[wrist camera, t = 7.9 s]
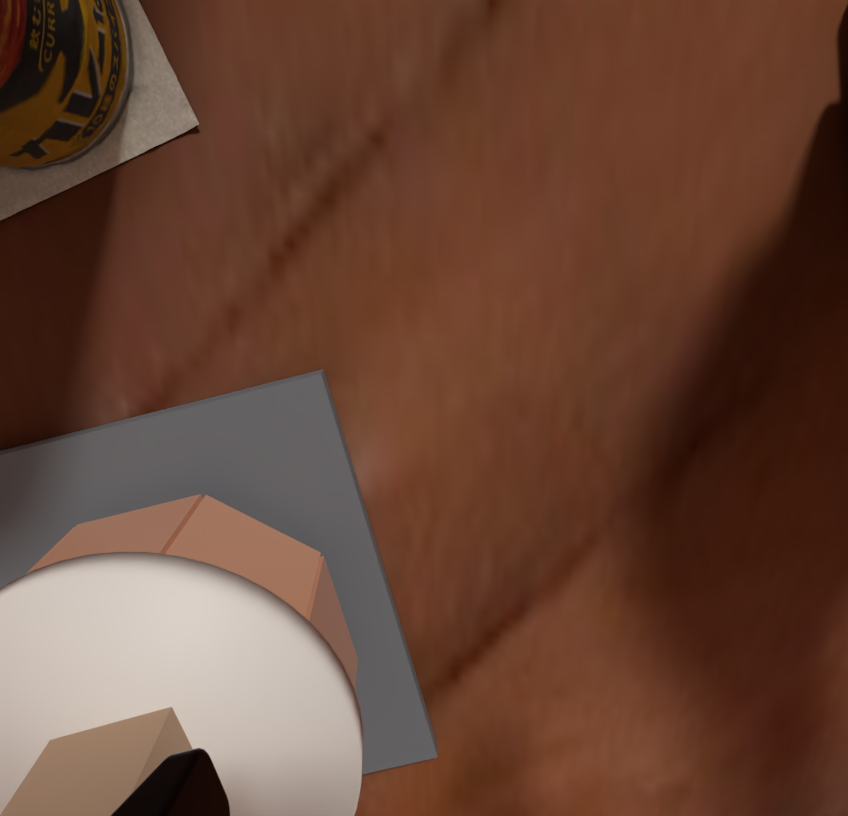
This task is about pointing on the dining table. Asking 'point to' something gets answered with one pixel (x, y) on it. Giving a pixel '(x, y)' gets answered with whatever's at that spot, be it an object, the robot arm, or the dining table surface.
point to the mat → (248, 493)
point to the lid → (168, 689)
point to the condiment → (79, 94)
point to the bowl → (223, 556)
